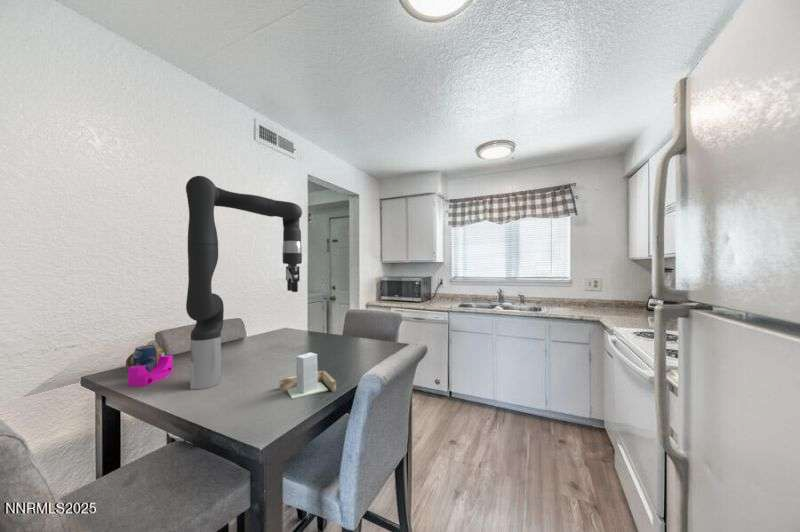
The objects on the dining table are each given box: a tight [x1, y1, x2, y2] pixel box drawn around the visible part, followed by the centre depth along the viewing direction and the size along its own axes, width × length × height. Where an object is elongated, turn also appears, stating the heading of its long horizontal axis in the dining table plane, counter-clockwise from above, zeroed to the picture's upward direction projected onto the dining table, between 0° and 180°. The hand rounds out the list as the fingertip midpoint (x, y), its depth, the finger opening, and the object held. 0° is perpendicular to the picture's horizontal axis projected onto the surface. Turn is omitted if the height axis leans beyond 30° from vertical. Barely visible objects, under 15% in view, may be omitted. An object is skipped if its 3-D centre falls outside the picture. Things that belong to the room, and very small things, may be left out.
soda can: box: [132, 344, 157, 373], centre depth 115 cm, size 7×7×12 cm
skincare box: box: [295, 352, 319, 393], centre depth 102 cm, size 6×4×12 cm
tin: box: [125, 346, 167, 371], centre depth 124 cm, size 15×3×8 cm, turn 169°
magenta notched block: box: [127, 354, 174, 387], centre depth 111 cm, size 15×6×8 cm, turn 177°
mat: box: [286, 381, 329, 400], centre depth 102 cm, size 12×8×1 cm, turn 122°
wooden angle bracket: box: [278, 370, 337, 393], centre depth 102 cm, size 16×13×4 cm
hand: (292, 291), depth 121 cm, fingers open, 8 cm apart
